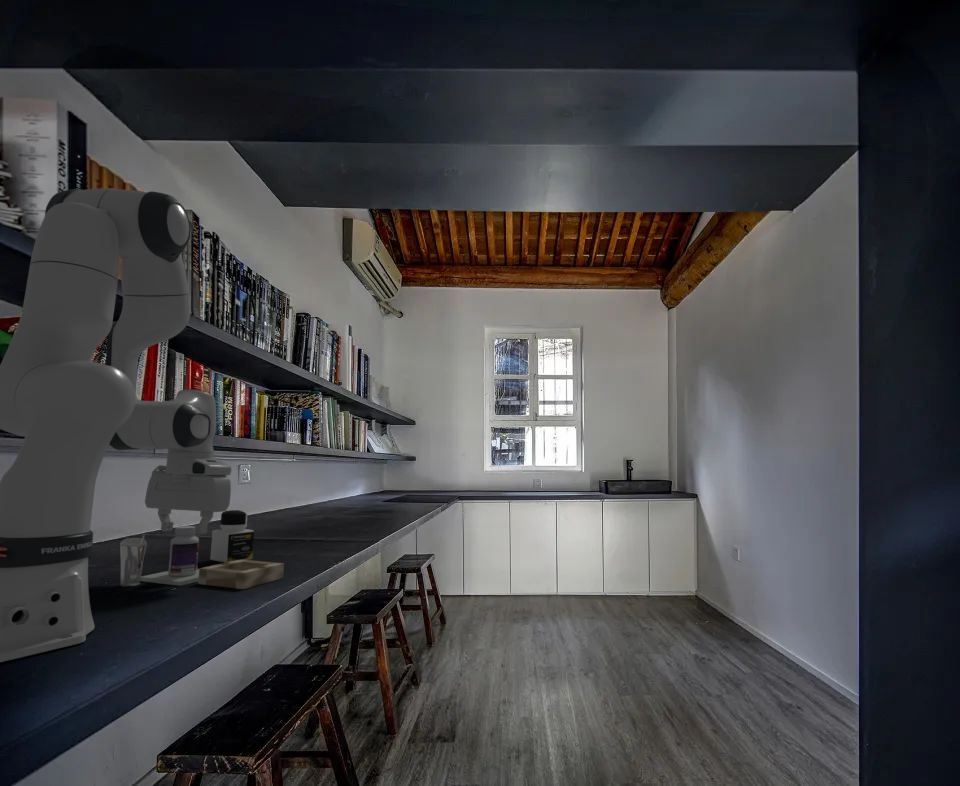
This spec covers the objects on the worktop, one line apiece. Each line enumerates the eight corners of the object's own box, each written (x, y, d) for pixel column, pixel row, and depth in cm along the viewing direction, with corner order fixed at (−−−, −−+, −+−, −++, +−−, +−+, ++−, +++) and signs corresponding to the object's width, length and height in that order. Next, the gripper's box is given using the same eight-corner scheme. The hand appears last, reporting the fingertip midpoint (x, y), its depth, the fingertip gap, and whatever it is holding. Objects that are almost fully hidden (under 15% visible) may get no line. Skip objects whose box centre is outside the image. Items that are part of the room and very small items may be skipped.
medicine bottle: (227, 563, 136) (230, 512, 137) (209, 560, 140) (213, 510, 141) (253, 559, 142) (256, 510, 143) (235, 556, 146) (238, 508, 147)
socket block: (243, 589, 110) (244, 572, 110) (198, 583, 114) (199, 567, 114) (283, 578, 121) (284, 562, 121) (240, 573, 125) (241, 558, 125)
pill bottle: (201, 573, 120) (204, 526, 121) (175, 578, 115) (179, 529, 116) (189, 570, 123) (192, 524, 124) (163, 574, 118) (166, 527, 120)
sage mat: (180, 585, 112) (180, 581, 112) (139, 580, 116) (139, 576, 116) (222, 575, 122) (223, 571, 122) (184, 571, 126) (184, 567, 126)
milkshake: (128, 588, 109) (132, 535, 110) (111, 585, 111) (116, 533, 112) (151, 584, 113) (155, 533, 114) (134, 581, 115) (138, 531, 116)
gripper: (140, 464, 122) (133, 530, 120) (215, 466, 115) (208, 536, 113) (165, 465, 128) (159, 528, 126) (237, 467, 121) (232, 533, 119)
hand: (183, 532), depth 120 cm, fingers open, 8 cm apart
